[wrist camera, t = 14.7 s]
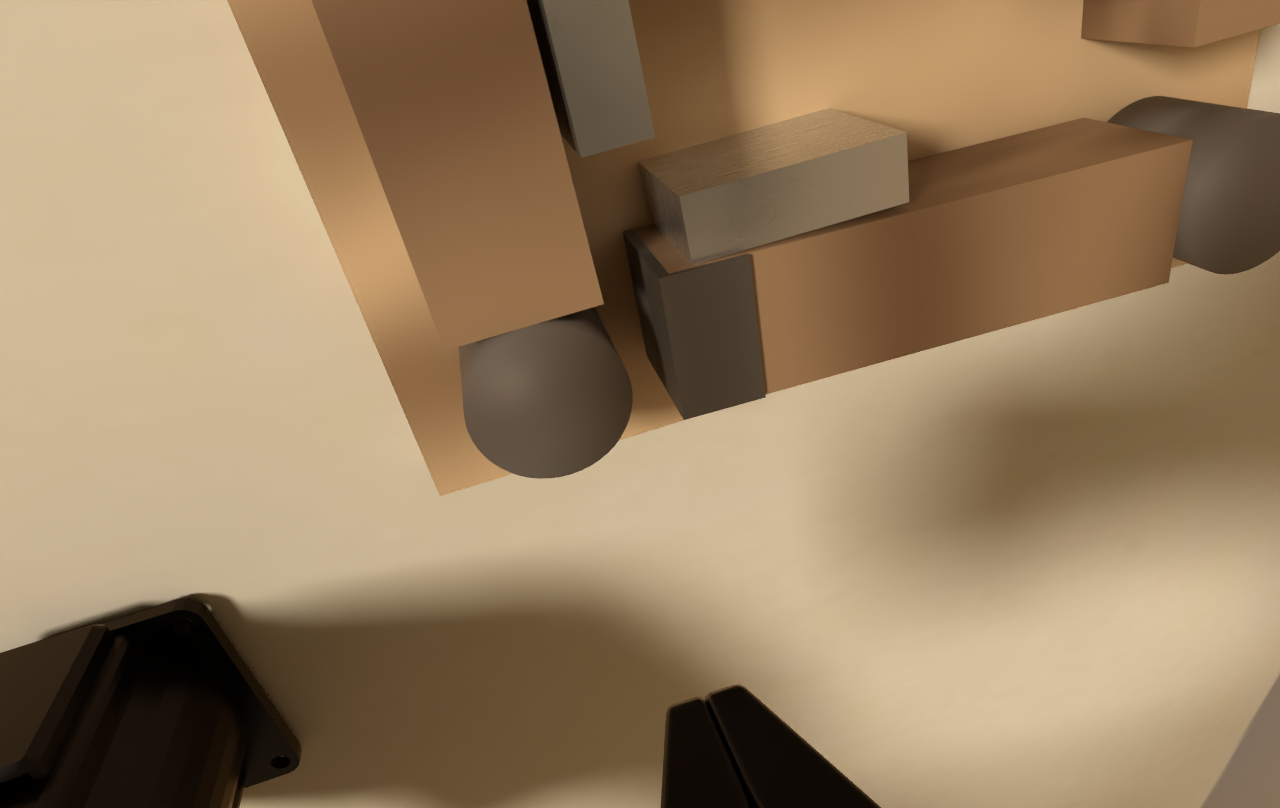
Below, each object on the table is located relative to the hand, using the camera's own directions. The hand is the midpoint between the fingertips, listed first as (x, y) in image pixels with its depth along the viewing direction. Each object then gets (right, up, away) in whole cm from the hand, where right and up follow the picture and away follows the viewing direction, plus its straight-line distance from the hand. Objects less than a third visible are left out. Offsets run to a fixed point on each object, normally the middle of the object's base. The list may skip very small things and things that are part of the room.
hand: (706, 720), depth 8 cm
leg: (+5, +7, +9) cm, 13 cm away
